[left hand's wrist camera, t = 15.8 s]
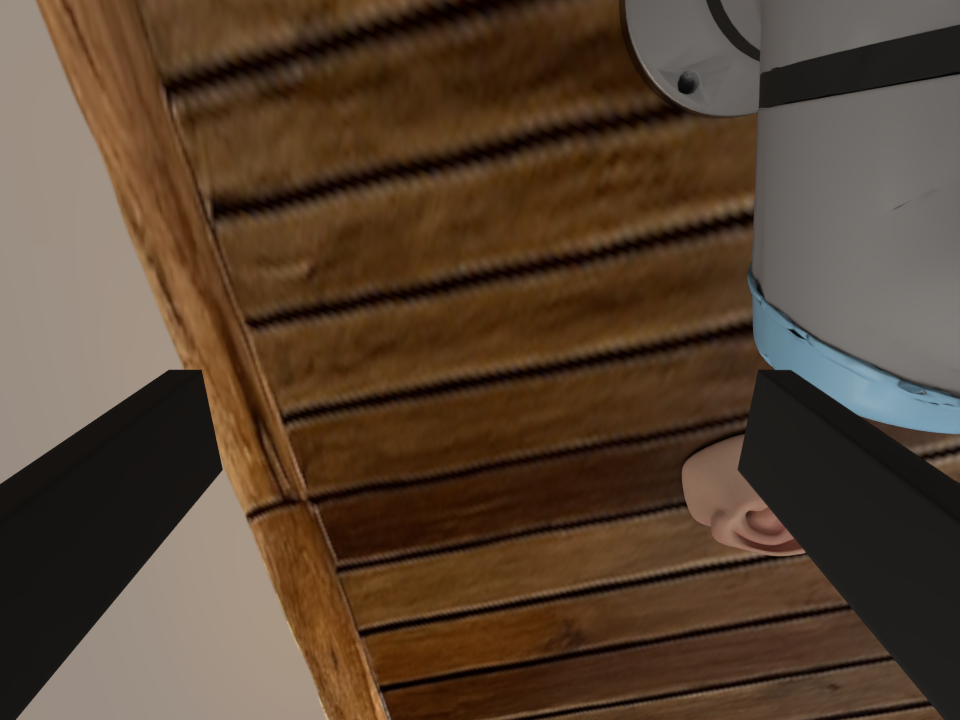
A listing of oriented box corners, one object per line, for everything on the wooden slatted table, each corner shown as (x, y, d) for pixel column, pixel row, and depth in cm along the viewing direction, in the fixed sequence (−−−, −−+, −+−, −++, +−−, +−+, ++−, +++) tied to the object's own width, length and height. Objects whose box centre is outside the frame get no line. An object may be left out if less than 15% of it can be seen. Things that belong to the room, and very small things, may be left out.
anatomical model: (672, 505, 43) (796, 423, 40) (657, 478, 47) (769, 401, 44) (756, 596, 46) (875, 526, 44) (736, 564, 50) (844, 498, 47)
